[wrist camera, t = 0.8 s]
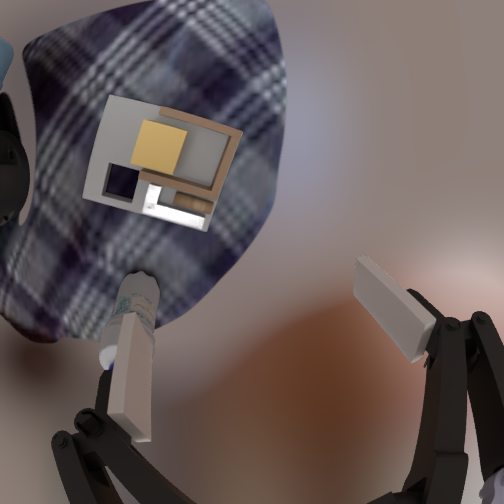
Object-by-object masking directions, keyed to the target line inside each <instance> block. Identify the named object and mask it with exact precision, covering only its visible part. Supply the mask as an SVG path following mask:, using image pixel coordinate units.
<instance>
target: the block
mask: <svg viewBox="0 0 504 504" xmlns="http://www.w3.org/2000/svg"><path fill="white" fill-rule="evenodd" d="M187 134H188V131H187V130H184V129H180V128H177V127H173V126H170V125H166V124H163V123H159V122H155V121H151V120H145V119H144V120H143V123H142V126H141V129H140V132H139V135H138V138H137V141H136V145H135V148H134V151H133V154H132V158H131V161H130V163H131V164H135V165H138V166H142V167H146V168H149V169H153V170H157V171H160V172H164V173H167V174H171V175H173V173H174V171H175V169H176V165H177V162H178V159H179V156H180V154H181V151H182V148H183V145H184V142H185V139H186V136H187Z"/></svg>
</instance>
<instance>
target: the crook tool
mask: <svg viewBox="0 0 504 504" xmlns="http://www.w3.org/2000/svg"><path fill="white" fill-rule="evenodd" d="M161 188H162V185H159V184H155V183H152V182H151V183H150V184H149V188H148V192H147V195H146V199H145V203H144V207H143V211H142V213H146V214H150V215H153V216H157V217H161V218H164V219H168V220H171V221H175V222H179V223H182V224H186V225H189V226H193V227H197V228H200V229H202V226H203V223H204V220H205V215H204V214H201V213H197V212H194V211H190V210H187V209H183V208H180V207H176V206H173V205H169V204H166V203H162V202H158V198H159V194H160V191H161Z"/></svg>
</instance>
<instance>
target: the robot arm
mask: <svg viewBox="0 0 504 504" xmlns="http://www.w3.org/2000/svg"><path fill="white" fill-rule="evenodd" d="M12 59H13V48H12V46H11V45H10V44H9V43H8V42H7V41H6V40H4V39H3V38H1V37H0V90H1V88H2V82H3V79H4V77H5V75H6V73H7V70H8V68H9V66H10V64H11V62H12ZM29 184H30V170H29V163H28V159H27V155H26V152H25V150H24V147H23V145H22V144H21V142H20V141H19V139H18V138H17V137H16V136H15V135H13V134H12V133H10V132H8V131H5V130H0V226H2V225H5V224H6V223H8V222H9V221H11V220H12V219H14V218H15V217H16V216H17V215H18V214H19V213H20V211H21V209H22V208H23V206H24V204H25V202H26V199H27V195H28V191H29ZM353 294H354V296H355V297H356V298H357V299H358V300H359V301H360V302H361V304H362V305H363V306H364V307H365V308H366V309H367V311H368V312H369V313H370V314H371V315H372V316H373V318H374V319H375V320H376V321H377V322H378V323H379V324H380V326H381V327H382V328H383V329H384V331H385V332H386V333H387V334H388V335H389V336H390V338H391V339H392V340H393V341H394V342H395V344H396V345H397V346H398V347H399V349H400V350H401V351H402V352H403V354H404V355H405V356H406V357H407V358H408V360H409V361H410V362H411V363H413V362H415V361H417V360H418V359H421V358H422V357H423V354H424V352H425V350H426V351H427V352H428V353H429V355H428V357H427V359H426V362H425V364H424V368H425V367H426V365H427V372H426V384H425V394H424V403H423V410H422V417H421V423H420V429H419V435H418V440H417V445H416V449H415V454H414V459H413V463H412V467H411V471H410V473H409V475H408V476H407V478H406V480H405V483H404V486H403V488H402V491H401V492H397V493H392V492H389V493H387V494H385V495H383V496H382V497H380V498H377V499H376V500H373V501H371V502H369V503H367V504H461V499H462V495H463V490H464V485H465V480H466V474H467V468H468V454H466V453H465V452H464V443H465V433H466V417H467V391H468V395H469V399H470V403H471V408H472V412H473V417H474V423H475V429H476V434H477V442H478V449H479V457H480V465H481V472H482V475H483V480H484V485H483V488H482V489H481V490H480V492H479V497H480V498H481V499H482V504H504V345H503V343H502V341H501V339H500V337H499V334H498V332H497V330H496V328H495V326H494V324H493V322H492V320H491V318H490V316H489V315H488V314H486V313H485V312H482V311H477V312H474V313H473V314H472V317H471V320H466V321H462V322H460V321H459V320H458V319H456V318H453V317H444V316H443V315H442V314H441V313H440V312H439V311H438V310H437V309H436V308H435V307H434V306H433V305H432V304H431V303H429V302H428V301H427V300H426V299H424V297H423V296H422V295H421V294H420V293H418V292H417V291H415V290H412V289H408V290H405V289H404V288H403V287H402V286H401V285H400V284H398V283H397V282H396V281H395V280H394V279H393V278H392V277H391V276H390V275H388V274H387V273H386V272H385V271H384V270H383V269H382V268H381V267H379V266H378V265H377V264H376V263H375V262H374V261H372V260H371V259H370V258H369V257H368V256H367V255H364V256H360V257H356V258H355V277H354V290H353ZM152 350H153V345H152V344H151V342H150V340H149V338H148V336H147V334H146V332H145V330H144V328H143V326H142V324H141V322H140V320H139V318H138V315H137V313H136V312H133V313H129V314H124V316H123V321H122V326H121V330H120V335H119V340H118V345H117V351H116V356H115V362H114V368H113V369H109V370H104V372H103V374H102V375H101V377H100V381H99V386H98V387H99V388H98V392H97V393H98V395H97V397H96V404H95V410H94V409H91V408H86V409H83V410H81V411H80V412H79V413H78V414H77V415H76V417H75V420H74V425H75V428H76V429H77V430H78V431H79V433H76V434H73V435H71V434H69V433H68V432H67V431H63V430H62V431H58V432H57V433H56V434H55V435H54V436H53V438H52V441H51V445H52V450H53V454H54V457H55V461H56V464H57V468H58V471H59V474H60V477H61V480H62V483H63V486H64V489H65V491H66V494H67V497H68V499H69V502H70V504H123V502H122V500H121V498H120V497H119V495H118V493H117V491H116V489H115V487H114V485H113V483H112V481H111V479H110V477H109V475H108V473H107V470H106V468H105V466H108V467H109V469H110V470H111V471H112V473H113V474H114V475H115V476H116V477H117V479H118V480H119V481H120V482H121V483H122V484H123V485H124V487H125V488H126V489H127V490H128V491H129V492H130V493H131V494H132V495H133V496H134V497H135V498H136V500H138V502H139V503H140V504H197V503H195V502H194V501H193V500H191V499H190V498H189V497H188V496H186V495H185V494H184V493H183V492H181V491H180V490H179V489H178V488H177V487H176V486H174V485H173V484H172V483H171V482H170V481H169V480H168V479H166V478H165V477H164V476H163V475H162V474H161V473H160V472H159V471H158V470H157V469H156V468H154V467H153V466H152V465H151V464H150V463H149V462H148V461H147V460H146V459H145V458H144V457H143V456H142V455H141V454H140V453H139V452H138V451H137V449H136V448H135V447H134V446H133V445H131V438H133V439H134V440H135V441H136V442H146V441H151V371H152Z"/></svg>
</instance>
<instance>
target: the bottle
mask: <svg viewBox="0 0 504 504" xmlns="http://www.w3.org/2000/svg"><path fill="white" fill-rule="evenodd" d="M159 298H160V290H159V288H158V285H157V282H156V280H155V278H154V277H149V276H147V275H146V274H145V273H144V272H143V271H140V272H137V273H135V274H132V273H130V274H128V275H127V276H126V277H125V278H124V280H123V281H122V283H121V285H120V288H119V291H118V295H117V300H116V303H115V306H114V309H113V312H112V315H111V318H110V321H109V322H108V323H107V324H106V326H105V328H104V331H103V333H102V335H101V345H100V354H99V359H100V363H101V365H102V367H103V368H104V369H105V370H109V369H113V368H114V362H115V356H116V351H117V345H118V340H119V335H120V330H121V326H122V321H123V316H124V314H129V313H133V312H136V313H137V315H138V318H139V320H140V322H141V324H142V326H143V328H144V330H145V332H146V334H147V336H148V338H149V340H150V342H151V344H152V345H153V350H152V359H153V356H154V353H155V338H154V335H153V333H154V325H155V317H156V310H157V306H158V303H159Z"/></svg>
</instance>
